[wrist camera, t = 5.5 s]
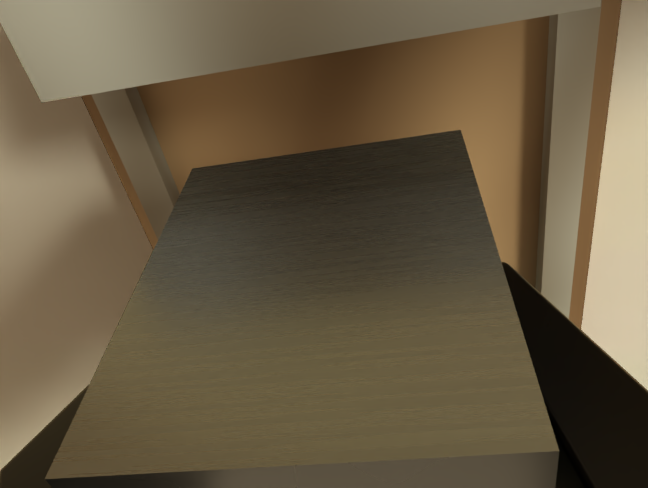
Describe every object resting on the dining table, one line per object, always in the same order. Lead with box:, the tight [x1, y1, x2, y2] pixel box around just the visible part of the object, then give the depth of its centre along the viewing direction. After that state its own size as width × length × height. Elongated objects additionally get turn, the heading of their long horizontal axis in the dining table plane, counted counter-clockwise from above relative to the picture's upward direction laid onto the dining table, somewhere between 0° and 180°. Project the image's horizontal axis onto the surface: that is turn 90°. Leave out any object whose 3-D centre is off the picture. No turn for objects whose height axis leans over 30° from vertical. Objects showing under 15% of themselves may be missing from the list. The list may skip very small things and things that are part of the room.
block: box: [45, 130, 559, 488], centre depth 7 cm, size 4×4×5 cm
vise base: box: [0, 0, 622, 329], centre depth 13 cm, size 12×17×6 cm
